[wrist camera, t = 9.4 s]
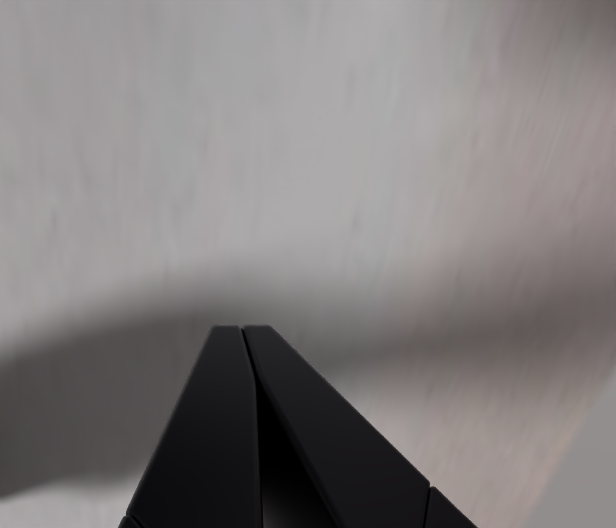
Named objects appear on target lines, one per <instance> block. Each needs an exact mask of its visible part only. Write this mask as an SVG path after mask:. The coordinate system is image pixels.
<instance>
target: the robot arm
mask: <svg viewBox="0 0 616 528" xmlns="http://www.w3.org/2000/svg"><path fill="white" fill-rule="evenodd" d="M118 528H478V527H477V526H475V525H474V524H473V523H472V522H471V521H470V520H469V519H468V518H467V517H466V516H465V515H464V514H463V513H462V512H461V511H459V510H458V509H457V508H456V507H455V506H454V505H453V504H452V503H451V502H450V501H449V500H448V499H447V498H446V497H445V496H444V495H443V494H442V493H441V492H440V491H439V490H438V489H437V488H436V487H434V486H432V487H430V482H429V481H428V480H427V479H426V478H425V477H424V476H423V475H422V474H421V473H420V472H419V471H418V470H417V469H416V468H415V467H414V466H413V465H412V464H411V463H410V462H409V461H408V460H407V459H406V458H405V457H404V456H403V455H402V454H401V453H400V452H399V451H398V450H397V449H396V448H395V447H394V446H393V445H392V444H391V443H390V442H389V441H388V440H387V439H386V438H385V437H384V436H383V435H382V434H380V433H379V432H378V431H377V430H376V429H375V428H374V427H373V426H372V425H371V424H370V423H369V422H368V421H367V420H366V419H365V418H364V417H363V416H362V415H361V414H360V413H359V412H358V411H357V410H356V409H355V408H354V407H353V406H352V405H351V404H350V403H349V402H348V401H347V400H346V399H345V398H344V397H343V396H342V395H341V394H340V393H339V392H338V391H337V390H336V389H335V388H334V387H333V386H332V385H331V384H329V383H328V382H327V381H326V380H325V379H324V378H323V377H322V376H321V375H320V374H319V373H318V372H317V371H316V370H315V369H314V368H313V367H312V366H311V365H310V364H309V363H308V362H307V361H306V360H305V359H304V358H303V357H302V356H301V355H300V354H299V353H298V352H297V351H296V350H295V349H294V348H293V347H292V346H291V345H290V344H289V343H288V342H287V341H286V340H285V339H284V338H283V337H282V336H281V335H280V334H279V333H277V332H276V331H275V330H274V329H273V328H272V327H271V326H269V325H244V326H243V327H242V328H241V327H239V326H238V325H214V326H212V327H211V328H210V330H209V332H208V334H207V337H206V339H205V341H204V343H203V345H202V347H201V350H200V352H199V354H198V356H197V358H196V361H195V363H194V365H193V367H192V369H191V371H190V374H189V376H188V378H187V380H186V382H185V384H184V387H183V389H182V391H181V393H180V395H179V397H178V400H177V402H176V404H175V406H174V408H173V410H172V413H171V415H170V417H169V419H168V421H167V424H166V426H165V428H164V430H163V432H162V434H161V437H160V439H159V441H158V443H157V445H156V447H155V450H154V452H153V454H152V456H151V458H150V460H149V463H148V465H147V467H146V469H145V471H144V473H143V476H142V478H141V480H140V482H139V484H138V487H137V489H136V491H135V493H134V495H133V497H132V500H131V502H130V504H129V506H128V508H127V511H126V516H124V517H123V518H122V520H121V522H120V525H119V527H118Z"/></svg>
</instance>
